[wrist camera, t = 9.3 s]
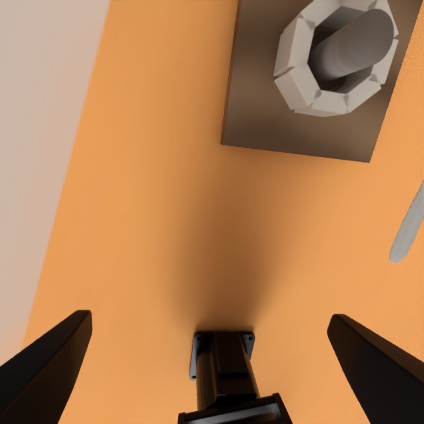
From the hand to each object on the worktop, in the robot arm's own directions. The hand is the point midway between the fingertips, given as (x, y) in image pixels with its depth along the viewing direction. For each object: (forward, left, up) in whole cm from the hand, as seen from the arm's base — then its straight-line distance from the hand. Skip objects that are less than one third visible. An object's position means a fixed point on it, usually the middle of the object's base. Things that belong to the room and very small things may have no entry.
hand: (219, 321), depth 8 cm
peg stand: (+12, -7, -12) cm, 18 cm away
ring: (+12, -7, -10) cm, 17 cm away
